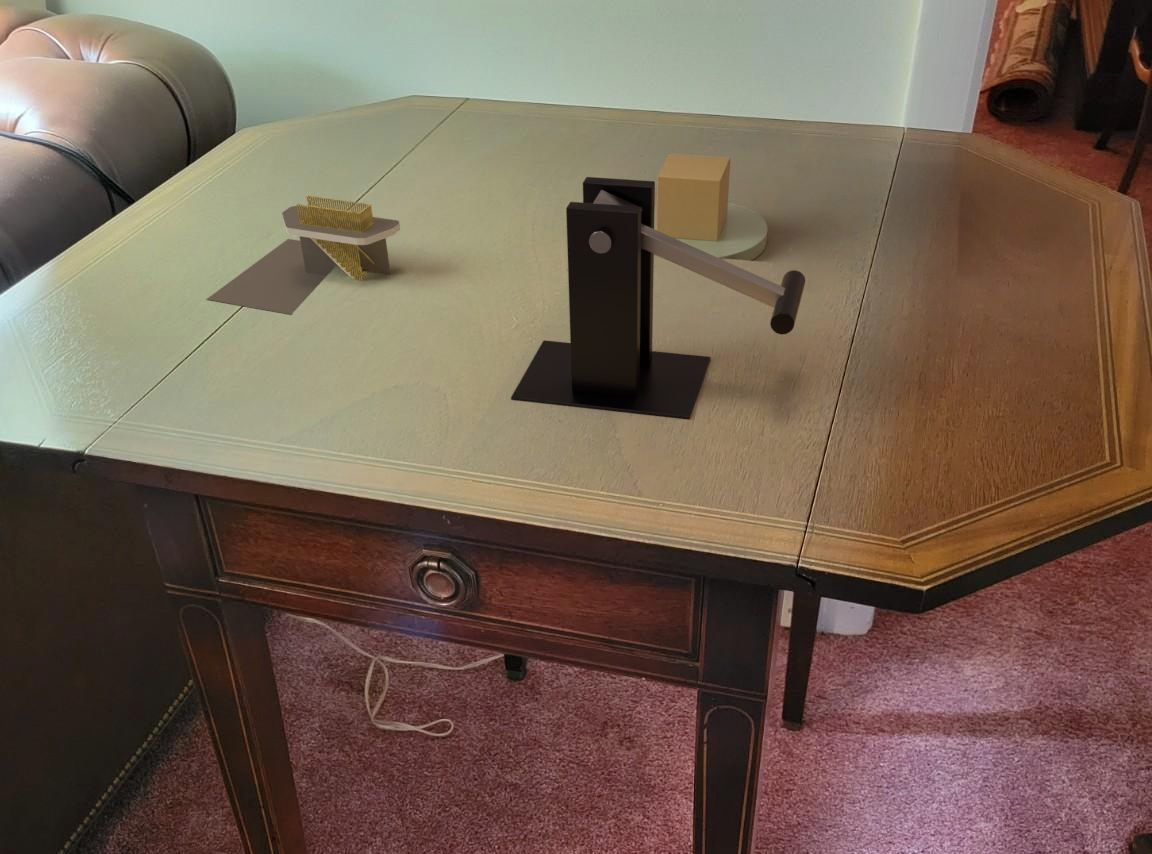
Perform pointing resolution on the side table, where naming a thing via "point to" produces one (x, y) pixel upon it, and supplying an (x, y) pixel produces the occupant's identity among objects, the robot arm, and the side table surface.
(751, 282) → the blade
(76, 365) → the side table surface
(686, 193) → the cake slice
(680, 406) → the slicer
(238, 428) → the side table surface
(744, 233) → the plate
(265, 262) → the platform
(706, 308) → the side table surface
